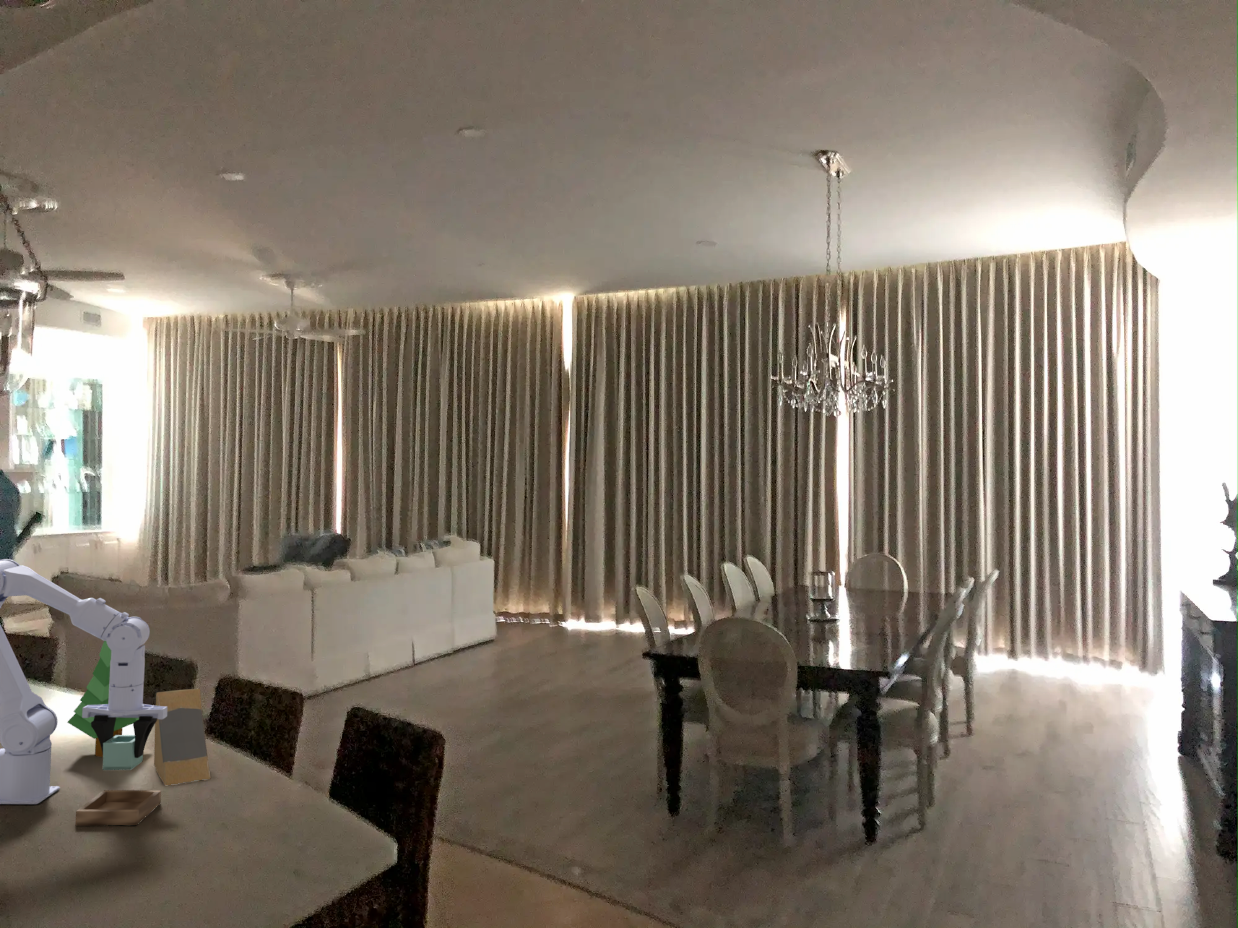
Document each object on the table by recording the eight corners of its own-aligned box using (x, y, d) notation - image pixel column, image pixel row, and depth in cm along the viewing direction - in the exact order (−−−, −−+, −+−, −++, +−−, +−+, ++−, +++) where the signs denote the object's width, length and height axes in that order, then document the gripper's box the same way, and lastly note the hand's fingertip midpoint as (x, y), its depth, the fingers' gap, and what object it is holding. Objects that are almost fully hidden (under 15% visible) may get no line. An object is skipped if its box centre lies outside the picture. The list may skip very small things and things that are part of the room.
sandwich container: (164, 787, 173) (167, 709, 173) (152, 764, 186) (155, 691, 186) (212, 780, 178) (215, 704, 178) (197, 757, 191) (200, 687, 191)
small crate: (102, 770, 166) (103, 743, 166) (115, 761, 171) (116, 734, 171) (130, 769, 166) (131, 742, 166) (142, 760, 171) (143, 734, 171)
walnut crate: (75, 825, 154) (76, 810, 154) (103, 803, 164) (104, 789, 164) (136, 825, 155) (136, 811, 155) (160, 803, 165) (161, 790, 165)
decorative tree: (107, 768, 181) (113, 620, 182) (51, 757, 187) (58, 613, 187) (162, 750, 194) (168, 611, 194) (109, 739, 200) (114, 605, 200)
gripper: (75, 687, 164) (71, 762, 164) (157, 689, 165) (154, 763, 165) (94, 678, 171) (90, 749, 171) (173, 680, 173) (169, 751, 172)
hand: (123, 755), depth 169 cm, fingers closed on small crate, 5 cm apart
